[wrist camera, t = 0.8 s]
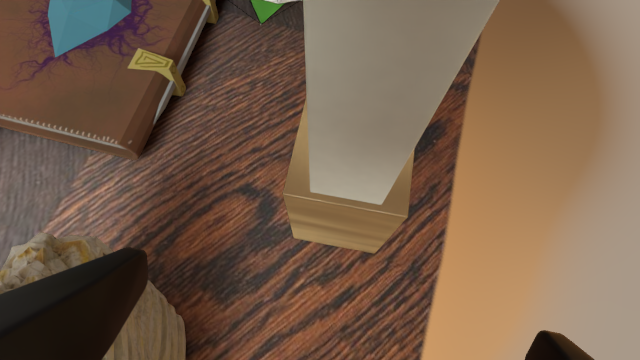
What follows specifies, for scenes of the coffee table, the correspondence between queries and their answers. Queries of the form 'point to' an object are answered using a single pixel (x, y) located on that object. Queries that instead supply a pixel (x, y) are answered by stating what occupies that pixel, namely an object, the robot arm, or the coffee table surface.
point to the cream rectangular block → (378, 84)
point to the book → (95, 67)
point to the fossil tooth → (144, 321)
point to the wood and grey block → (341, 206)
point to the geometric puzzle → (267, 8)
